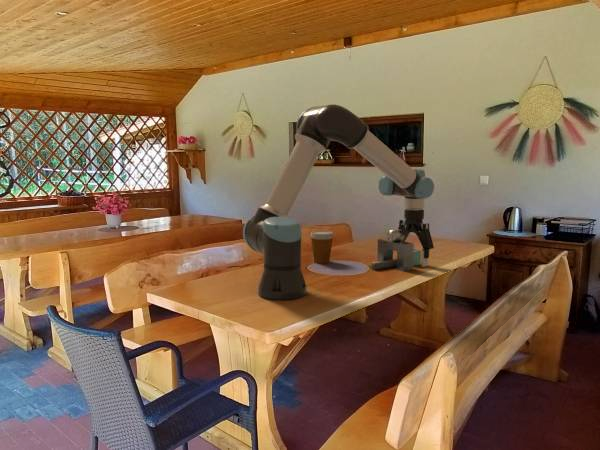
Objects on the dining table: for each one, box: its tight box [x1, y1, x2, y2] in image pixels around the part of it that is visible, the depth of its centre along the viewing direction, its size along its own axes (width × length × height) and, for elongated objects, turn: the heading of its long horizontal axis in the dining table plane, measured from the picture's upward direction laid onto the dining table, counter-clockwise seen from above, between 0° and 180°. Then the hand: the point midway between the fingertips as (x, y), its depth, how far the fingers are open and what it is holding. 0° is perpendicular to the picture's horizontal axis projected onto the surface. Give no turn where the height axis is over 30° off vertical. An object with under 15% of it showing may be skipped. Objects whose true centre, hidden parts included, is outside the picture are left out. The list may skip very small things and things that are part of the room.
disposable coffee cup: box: [309, 230, 335, 264], centre depth 197 cm, size 10×10×12 cm
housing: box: [376, 228, 415, 272], centre depth 189 cm, size 5×14×14 cm, turn 32°
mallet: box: [370, 249, 422, 271], centre depth 190 cm, size 22×6×6 cm, turn 122°
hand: (412, 263), depth 195 cm, fingers open, 12 cm apart
